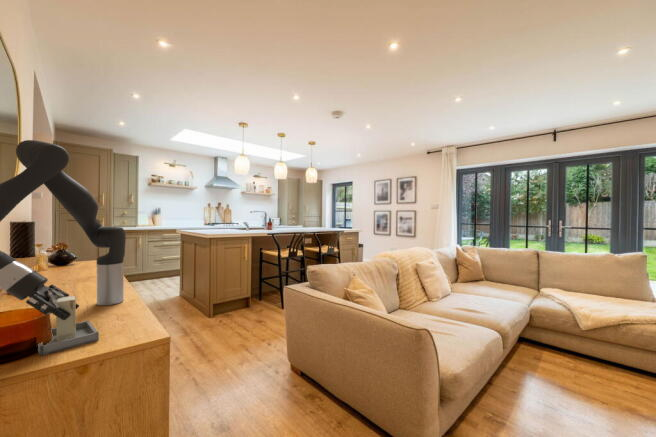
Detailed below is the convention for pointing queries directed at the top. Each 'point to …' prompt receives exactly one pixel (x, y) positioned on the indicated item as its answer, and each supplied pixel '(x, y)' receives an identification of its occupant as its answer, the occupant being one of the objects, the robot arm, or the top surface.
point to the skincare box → (68, 326)
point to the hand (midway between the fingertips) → (72, 312)
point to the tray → (83, 336)
